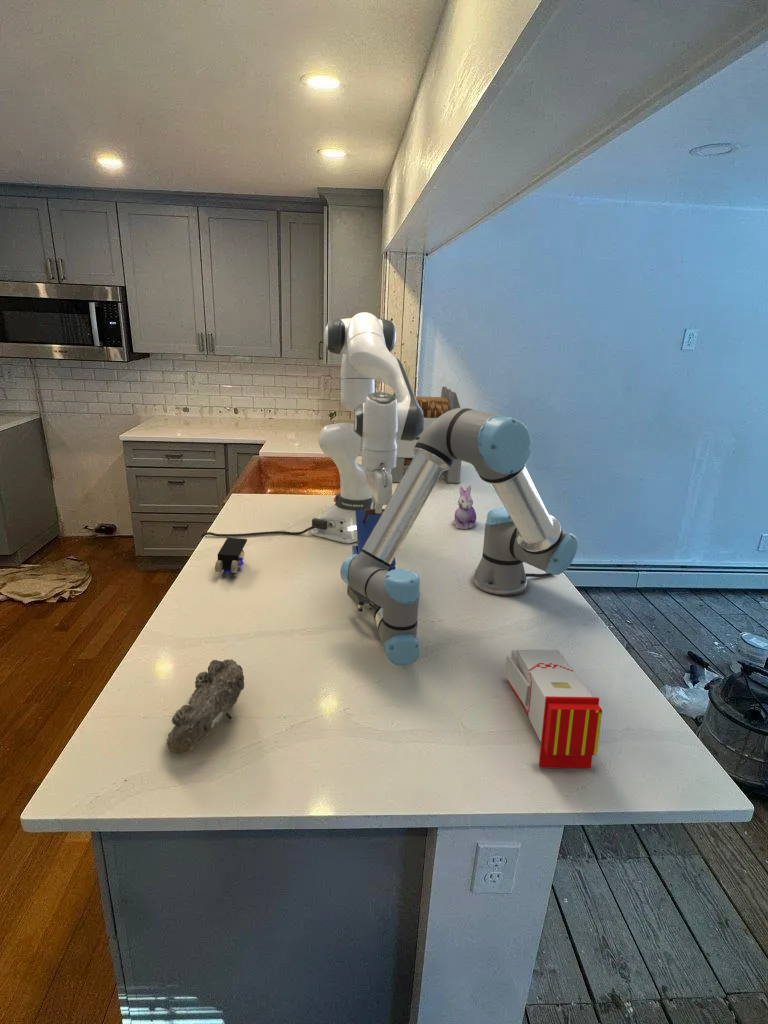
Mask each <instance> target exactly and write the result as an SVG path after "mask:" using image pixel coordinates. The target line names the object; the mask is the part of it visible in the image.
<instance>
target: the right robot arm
mask: <svg viewBox="0 0 768 1024" xmlns="http://www.w3.org/2000/svg"><path fill="white" fill-rule="evenodd" d="M530 446H532V437H531V434H530V432H529V429H528V427H526V425H525V424H524V423H523V422H521V421H520V420H518V419H516V418H513V417H510V416H509V415H505V414H495V413H491V412H486V411H481V410H476V409H473V408H468V407H460V408H456V409H453V410H450V411H448V412H446V413H444V414H442V415H441V416H439V417H438V418H437V419H436V420H435V421H434V422H432V423H431V424H430V426H429V427H428V428H427V429H426V430H425V431H424V432H423V434H422V435H421V437H420V438H419V440H418V441H417V443H416V445H415V447H414V449H413V451H414V457H413V459H412V461H411V463H410V465H409V466H408V467H407V468H406V470H405V472H404V473H403V475H402V479H401V481H400V482H398V484H397V486H396V488H395V490H394V492H392V497H391V498H390V500H389V502H388V504H387V505H385V507H384V508H383V509H384V511H383V513H382V515H381V516H380V518H379V520H378V522H377V523H376V525H375V527H374V529H373V531H372V532H371V534H370V536H369V538H368V539H367V541H366V543H365V545H364V547H363V548H362V550H361V552H360V554H359V555H358V554H353V555H352V554H351V555H348V557H347V558H346V559H344V560H343V562H342V563H341V566H340V569H339V572H340V573H339V574H340V578H341V580H342V581H343V583H345V584H346V585H347V587H346V591H347V592H346V594H347V596H348V597H349V598H350V599H351V601H353V603H354V604H355V606H356V607H357V611H358V612H363V611H364V609H368V610H369V611H371V613H372V616H373V619H374V623H375V625H376V628H377V632H378V635H379V638H380V642H381V645H382V650H383V653H384V655H385V656H386V659H387V660H388V662H389V663H390V664H392V665H393V666H396V667H407V666H410V665H412V664H413V663H414V662H416V661H417V660H418V658H419V656H420V653H421V646H420V641H419V638H418V635H417V633H418V614H419V604H420V597H421V592H420V577H419V575H418V574H417V573H415V572H414V571H412V570H411V569H410V570H408V569H407V570H406V568H395V569H394V570H391V571H388V569H389V567H390V565H391V563H392V561H393V559H394V558H395V559H396V556H397V554H398V552H399V550H400V548H401V547H402V545H403V543H404V541H405V540H406V538H407V536H408V534H409V533H410V531H411V529H412V527H413V525H414V524H415V522H416V520H417V518H418V517H419V515H420V514H421V511H422V509H423V507H424V506H425V504H426V502H427V500H428V499H429V498H430V495H431V493H432V492H433V490H434V488H435V486H436V484H437V482H438V481H439V480H440V477H441V476H442V475H443V474H442V472H443V471H445V470H448V469H449V468H450V466H451V465H452V463H453V462H454V461H455V460H456V459H459V460H462V462H465V463H469V464H470V465H471V466H473V468H474V470H475V471H476V473H477V475H478V476H479V479H481V480H482V481H483V482H484V483H487V484H490V485H492V487H493V489H494V491H495V492H496V494H497V496H498V498H499V499H500V501H501V503H502V506H501V507H496V508H493V509H491V510H489V511H488V512H487V516H486V520H485V523H484V524H485V525H484V535H483V536H484V537H483V547H482V556H481V559H480V560H479V562H478V564H477V566H476V568H475V569H474V571H473V579H472V580H473V584H474V586H476V588H478V589H479V590H481V591H483V592H485V593H488V594H490V595H491V594H492V595H496V596H504V597H505V596H507V597H508V596H509V597H510V596H517V595H520V594H522V593H524V592H525V591H526V589H527V583H528V580H527V578H546V577H550V576H560V575H561V574H563V573H564V572H566V571H567V570H568V569H569V567H570V566H571V564H572V563H573V561H574V559H575V557H576V554H577V551H578V546H579V540H578V538H577V536H576V535H575V534H572V533H571V532H568V531H565V530H564V529H563V527H562V526H561V523H560V521H559V520H558V519H557V518H556V517H555V516H553V515H551V514H549V512H548V511H547V508H546V506H545V504H544V502H543V500H542V498H541V496H540V494H539V492H538V490H537V488H536V486H535V484H534V482H533V479H532V478H531V475H530V473H529V471H528V469H527V467H526V466H527V463H528V461H529V459H530V456H531V452H532V448H530ZM524 563H525V564H527V565H529V566H530V567H531V566H532V567H534V568H536V569H538V570H541V571H543V572H545V573H531V572H530V573H529V572H528V573H527V572H526V571H525V565H524ZM365 600H366V601H367V602H369V603H367V602H366V601H365Z"/></svg>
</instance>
